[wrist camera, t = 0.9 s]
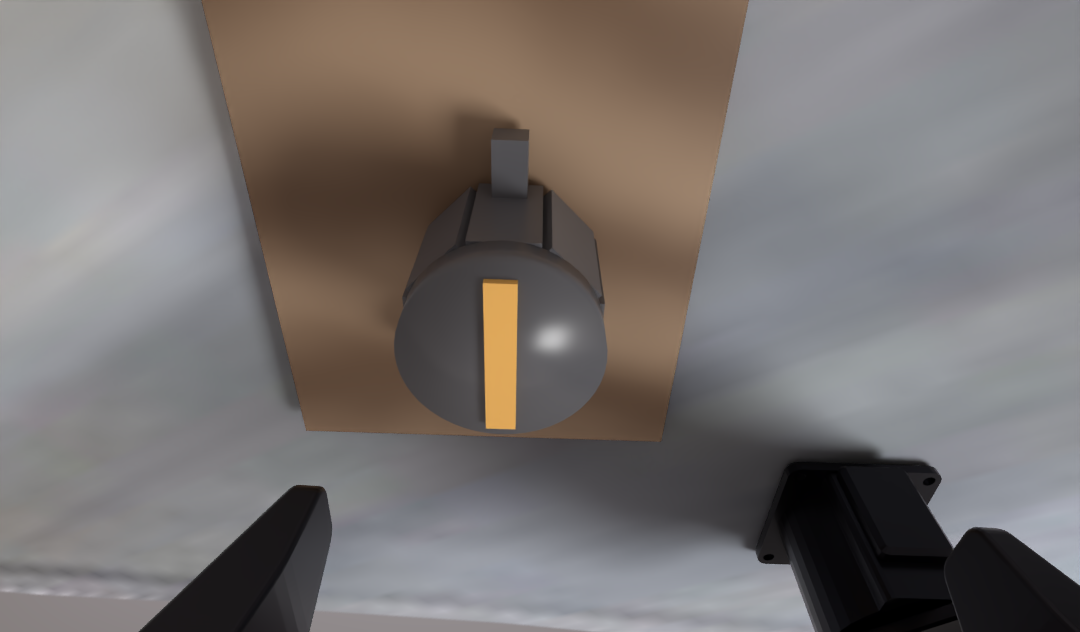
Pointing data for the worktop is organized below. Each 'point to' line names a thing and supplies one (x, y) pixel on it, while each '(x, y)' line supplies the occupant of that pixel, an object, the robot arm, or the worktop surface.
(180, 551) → the worktop surface
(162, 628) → the robot arm
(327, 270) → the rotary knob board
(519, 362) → the grey dial knob
